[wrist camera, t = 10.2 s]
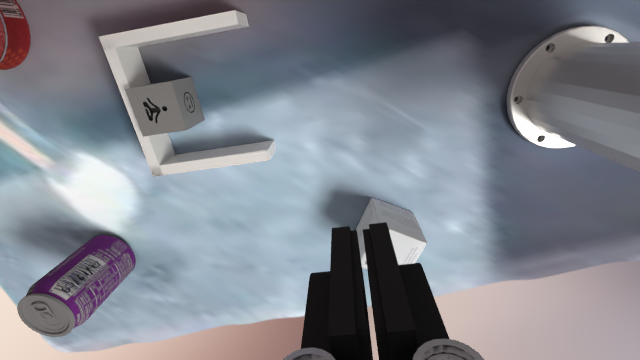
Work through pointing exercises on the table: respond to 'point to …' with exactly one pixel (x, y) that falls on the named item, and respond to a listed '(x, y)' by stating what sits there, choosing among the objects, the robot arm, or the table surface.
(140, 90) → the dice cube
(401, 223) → the skincare box
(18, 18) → the canned food
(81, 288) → the beverage can
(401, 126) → the table surface
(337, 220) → the table surface
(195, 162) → the box
